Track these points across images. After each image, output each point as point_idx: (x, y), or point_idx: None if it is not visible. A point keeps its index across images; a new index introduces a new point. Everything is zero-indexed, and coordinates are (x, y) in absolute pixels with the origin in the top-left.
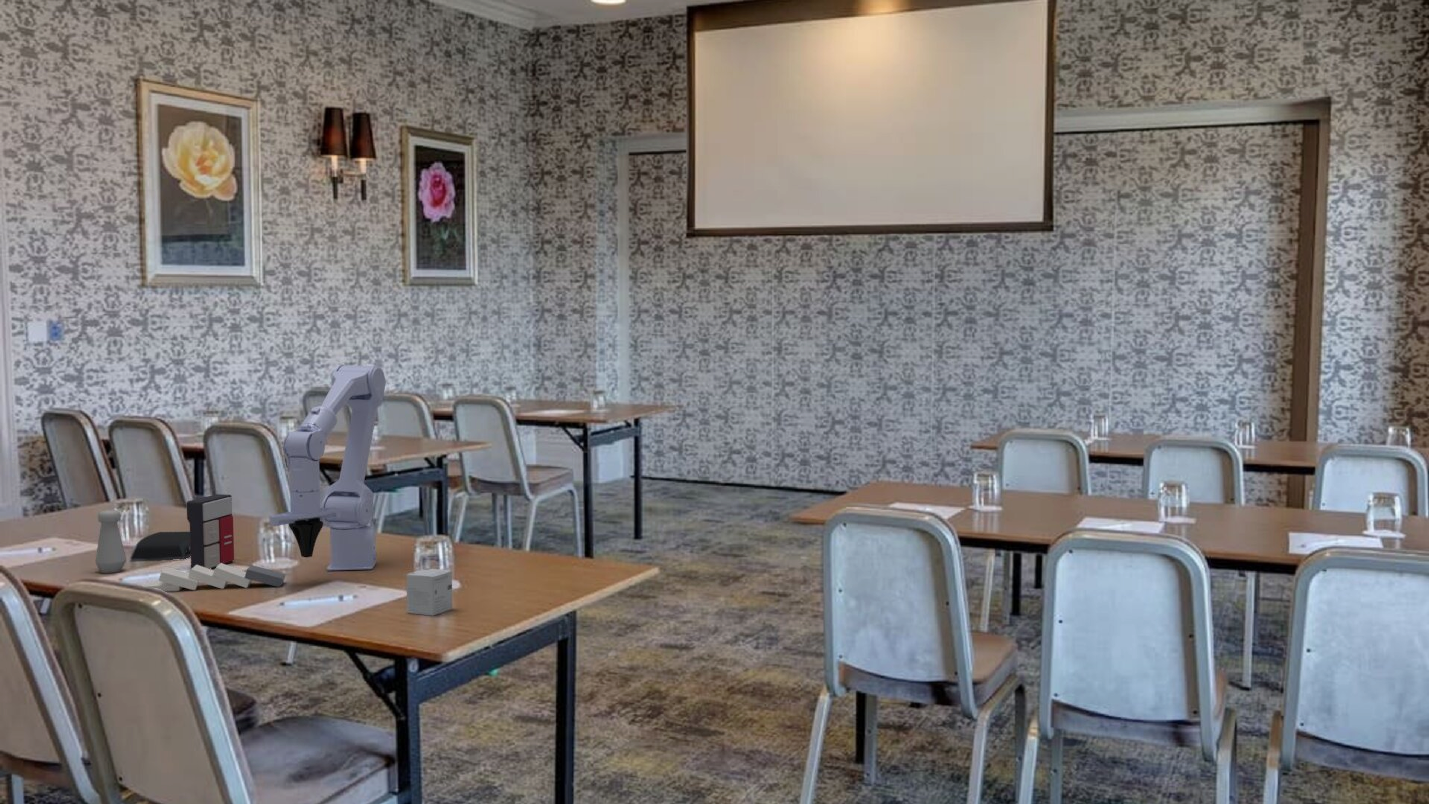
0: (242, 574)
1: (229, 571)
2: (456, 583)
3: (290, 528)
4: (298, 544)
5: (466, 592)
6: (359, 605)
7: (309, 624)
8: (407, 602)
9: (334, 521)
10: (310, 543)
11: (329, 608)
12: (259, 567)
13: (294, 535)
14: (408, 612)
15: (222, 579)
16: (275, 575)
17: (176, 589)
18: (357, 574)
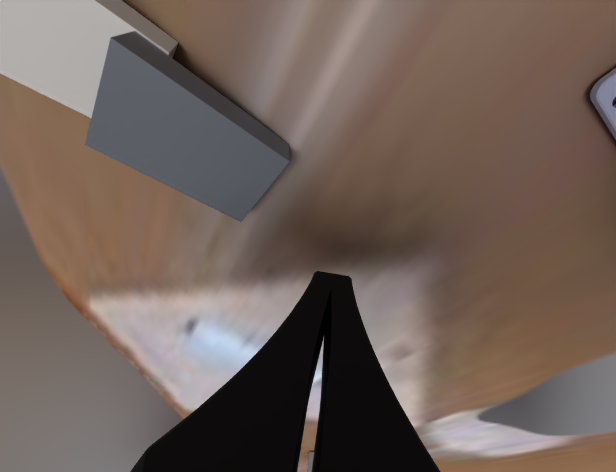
0: (94, 76)
1: (8, 62)
2: (526, 448)
3: (176, 427)
4: (290, 316)
5: (458, 467)
6: None
7: (189, 406)
8: (307, 470)
9: None
10: (322, 383)
11: None
12: (162, 85)
13: (244, 366)
14: (310, 452)
15: None
16: (223, 194)
17: None
18: (556, 252)
